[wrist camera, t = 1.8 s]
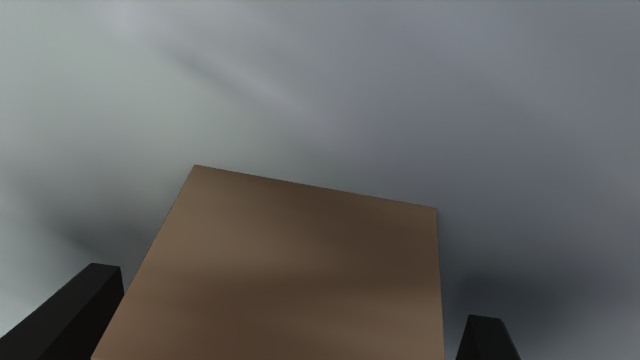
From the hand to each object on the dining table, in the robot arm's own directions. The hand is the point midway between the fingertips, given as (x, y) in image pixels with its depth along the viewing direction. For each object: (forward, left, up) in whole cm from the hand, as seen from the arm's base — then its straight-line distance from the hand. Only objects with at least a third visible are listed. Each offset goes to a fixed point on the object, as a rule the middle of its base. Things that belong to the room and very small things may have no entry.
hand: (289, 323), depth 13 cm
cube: (0, 0, -2) cm, 2 cm away
